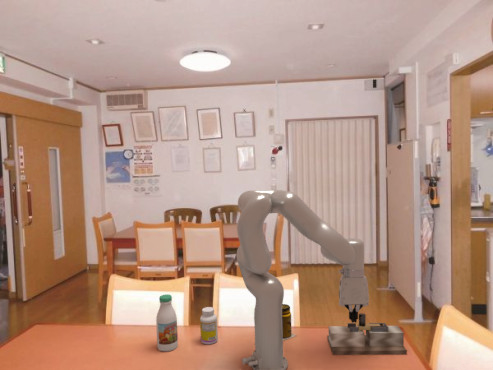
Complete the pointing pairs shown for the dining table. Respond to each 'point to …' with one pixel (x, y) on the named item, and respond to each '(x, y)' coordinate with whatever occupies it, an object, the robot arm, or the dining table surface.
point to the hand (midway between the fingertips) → (353, 320)
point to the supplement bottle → (208, 326)
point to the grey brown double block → (366, 341)
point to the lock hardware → (374, 329)
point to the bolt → (363, 325)
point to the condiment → (286, 322)
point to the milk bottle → (166, 325)
